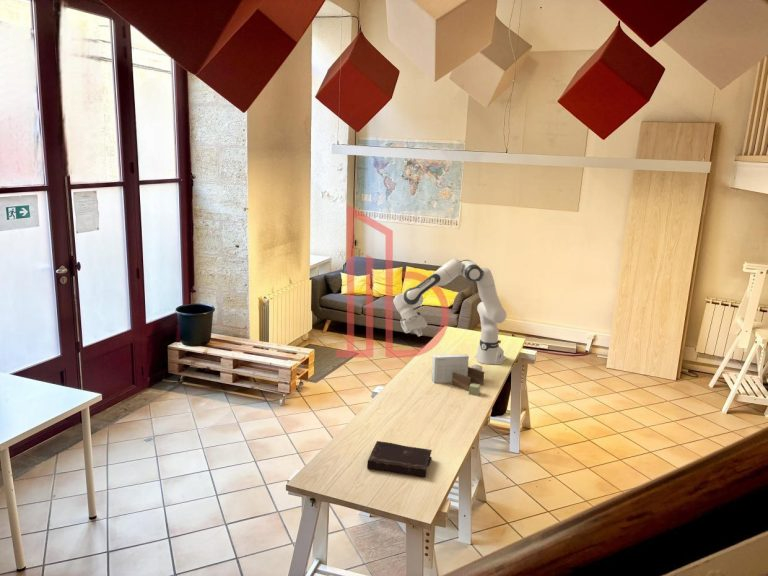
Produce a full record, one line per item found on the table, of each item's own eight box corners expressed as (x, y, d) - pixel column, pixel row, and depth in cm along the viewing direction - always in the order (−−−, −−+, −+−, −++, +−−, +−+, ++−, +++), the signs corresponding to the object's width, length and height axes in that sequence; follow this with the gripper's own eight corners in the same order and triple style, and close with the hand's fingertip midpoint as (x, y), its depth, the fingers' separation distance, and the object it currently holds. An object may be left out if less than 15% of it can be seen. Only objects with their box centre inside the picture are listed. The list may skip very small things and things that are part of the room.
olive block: (470, 391, 343) (471, 383, 342) (479, 393, 341) (480, 384, 340) (468, 394, 339) (469, 386, 338) (477, 396, 337) (478, 387, 336)
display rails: (466, 379, 362) (467, 366, 360) (483, 384, 354) (484, 371, 352) (451, 385, 351) (452, 372, 349) (468, 391, 343) (469, 378, 341)
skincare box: (464, 378, 363) (466, 353, 359) (467, 382, 357) (469, 356, 354) (431, 380, 358) (432, 354, 355) (433, 383, 353) (435, 357, 349)
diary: (425, 480, 248) (426, 469, 247) (366, 471, 253) (367, 460, 252) (431, 458, 266) (432, 447, 265) (376, 450, 271) (377, 439, 270)
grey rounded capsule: (474, 376, 366) (475, 364, 365) (483, 379, 363) (484, 366, 361) (469, 379, 362) (470, 366, 360) (477, 381, 358) (478, 369, 356)
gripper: (401, 317, 367) (413, 336, 363) (422, 312, 382) (433, 330, 378) (395, 322, 371) (407, 341, 367) (416, 317, 386) (427, 335, 382)
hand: (420, 335), depth 372 cm, fingers closed
